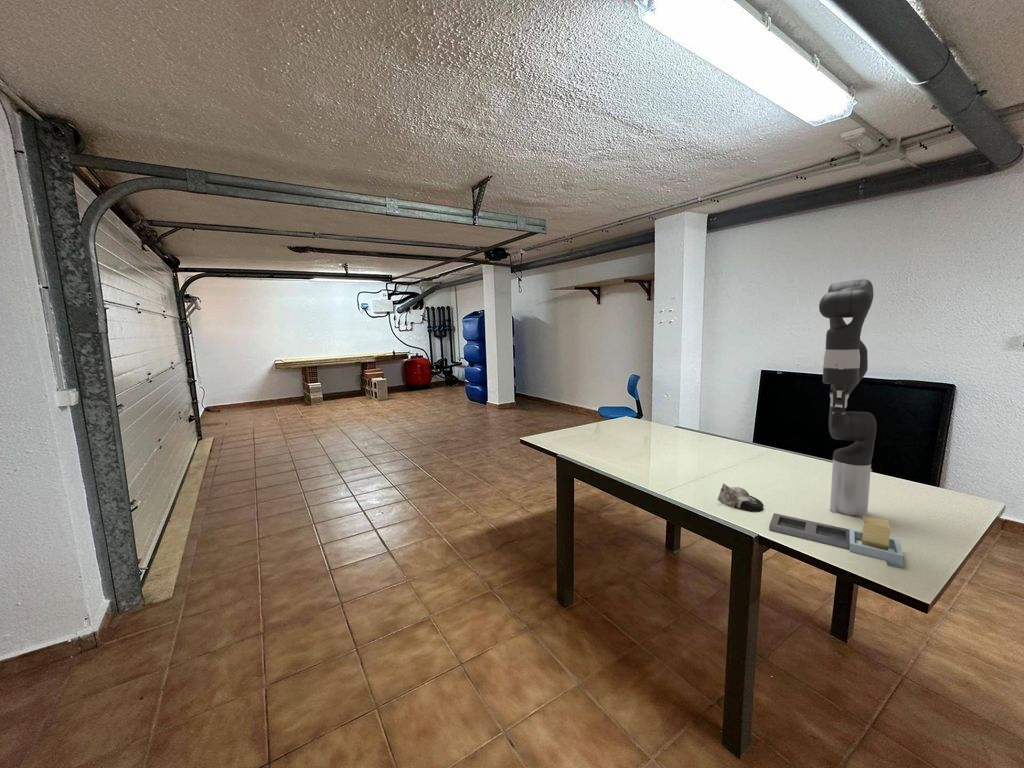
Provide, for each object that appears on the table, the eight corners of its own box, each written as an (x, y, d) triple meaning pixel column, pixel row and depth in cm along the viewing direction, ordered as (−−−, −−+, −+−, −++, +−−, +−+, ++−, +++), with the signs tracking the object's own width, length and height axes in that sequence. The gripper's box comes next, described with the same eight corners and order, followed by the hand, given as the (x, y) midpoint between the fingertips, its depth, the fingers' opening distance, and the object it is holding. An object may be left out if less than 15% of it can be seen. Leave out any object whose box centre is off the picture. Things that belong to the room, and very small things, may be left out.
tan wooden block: (861, 543, 108) (863, 515, 107) (886, 549, 104) (888, 520, 103) (861, 551, 104) (863, 522, 103) (887, 557, 101) (890, 527, 100)
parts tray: (848, 539, 111) (849, 528, 111) (898, 550, 105) (898, 539, 104) (849, 554, 104) (849, 543, 103) (902, 567, 97) (903, 555, 97)
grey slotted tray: (773, 520, 123) (773, 513, 123) (848, 537, 112) (849, 529, 112) (768, 533, 116) (769, 525, 116) (849, 552, 104) (849, 543, 104)
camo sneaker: (764, 518, 130) (742, 519, 127) (736, 499, 141) (715, 499, 137) (771, 501, 129) (749, 501, 125) (743, 483, 139) (722, 483, 135)
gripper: (824, 364, 114) (821, 419, 116) (822, 367, 103) (818, 428, 105) (858, 364, 109) (854, 421, 111) (860, 368, 98) (856, 431, 100)
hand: (837, 425), depth 108 cm, fingers open, 8 cm apart
